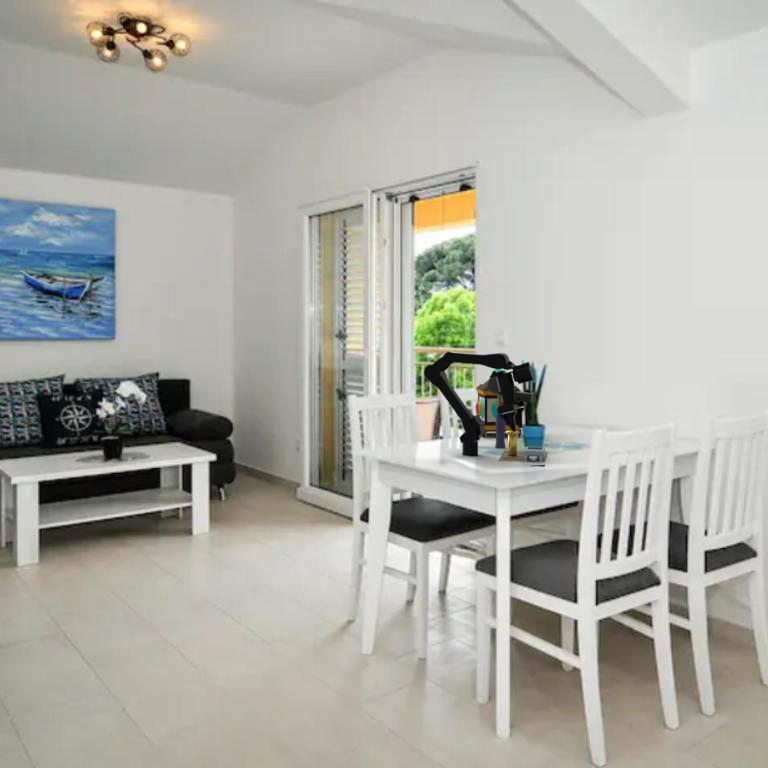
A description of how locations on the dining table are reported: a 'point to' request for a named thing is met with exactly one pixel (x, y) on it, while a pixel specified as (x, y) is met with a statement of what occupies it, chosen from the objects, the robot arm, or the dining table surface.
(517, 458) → the board
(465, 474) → the dining table surface
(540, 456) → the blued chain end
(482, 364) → the robot arm
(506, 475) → the dining table surface
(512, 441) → the pin
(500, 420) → the rubber mallet
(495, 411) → the decorative lantern
